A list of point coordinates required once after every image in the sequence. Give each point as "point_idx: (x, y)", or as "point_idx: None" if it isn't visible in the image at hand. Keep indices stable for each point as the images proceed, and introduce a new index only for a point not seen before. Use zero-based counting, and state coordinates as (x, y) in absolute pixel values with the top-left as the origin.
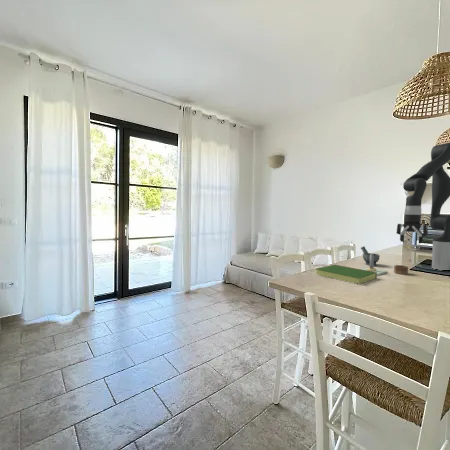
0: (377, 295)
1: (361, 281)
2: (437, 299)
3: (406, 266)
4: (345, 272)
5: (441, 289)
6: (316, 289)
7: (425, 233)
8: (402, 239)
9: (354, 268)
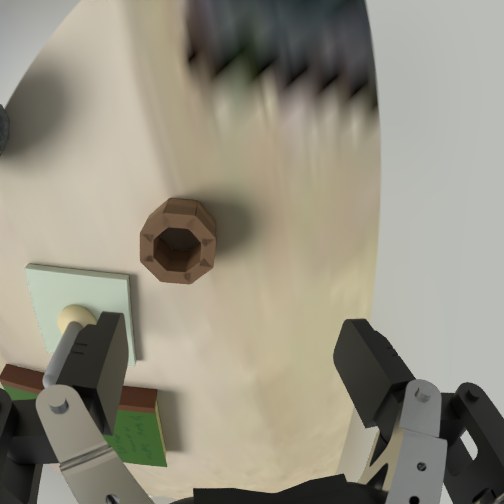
0: (235, 472)
1: (164, 448)
2: (335, 432)
3: (202, 227)
4: None
5: None
6: (144, 488)
7: (450, 451)
8: (122, 378)
9: None
